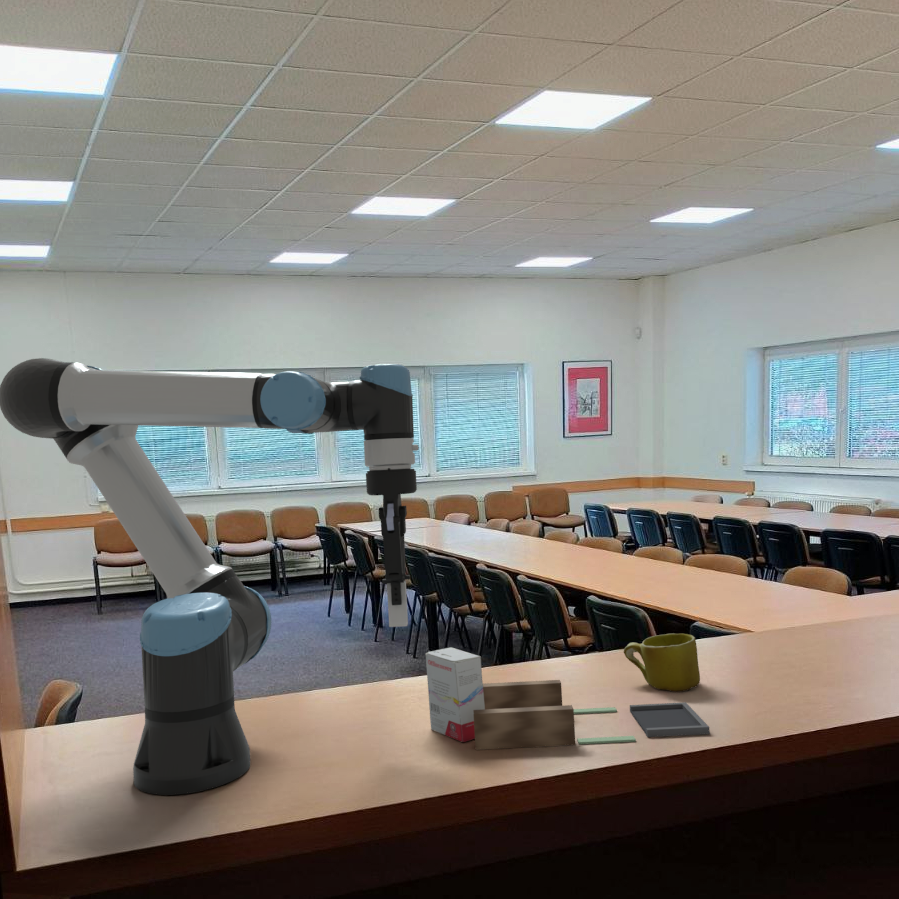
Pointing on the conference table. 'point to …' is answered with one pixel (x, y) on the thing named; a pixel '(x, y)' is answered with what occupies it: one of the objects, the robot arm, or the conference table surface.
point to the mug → (667, 661)
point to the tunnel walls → (523, 716)
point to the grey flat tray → (668, 719)
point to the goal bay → (602, 739)
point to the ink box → (454, 692)
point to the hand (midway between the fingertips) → (398, 625)
